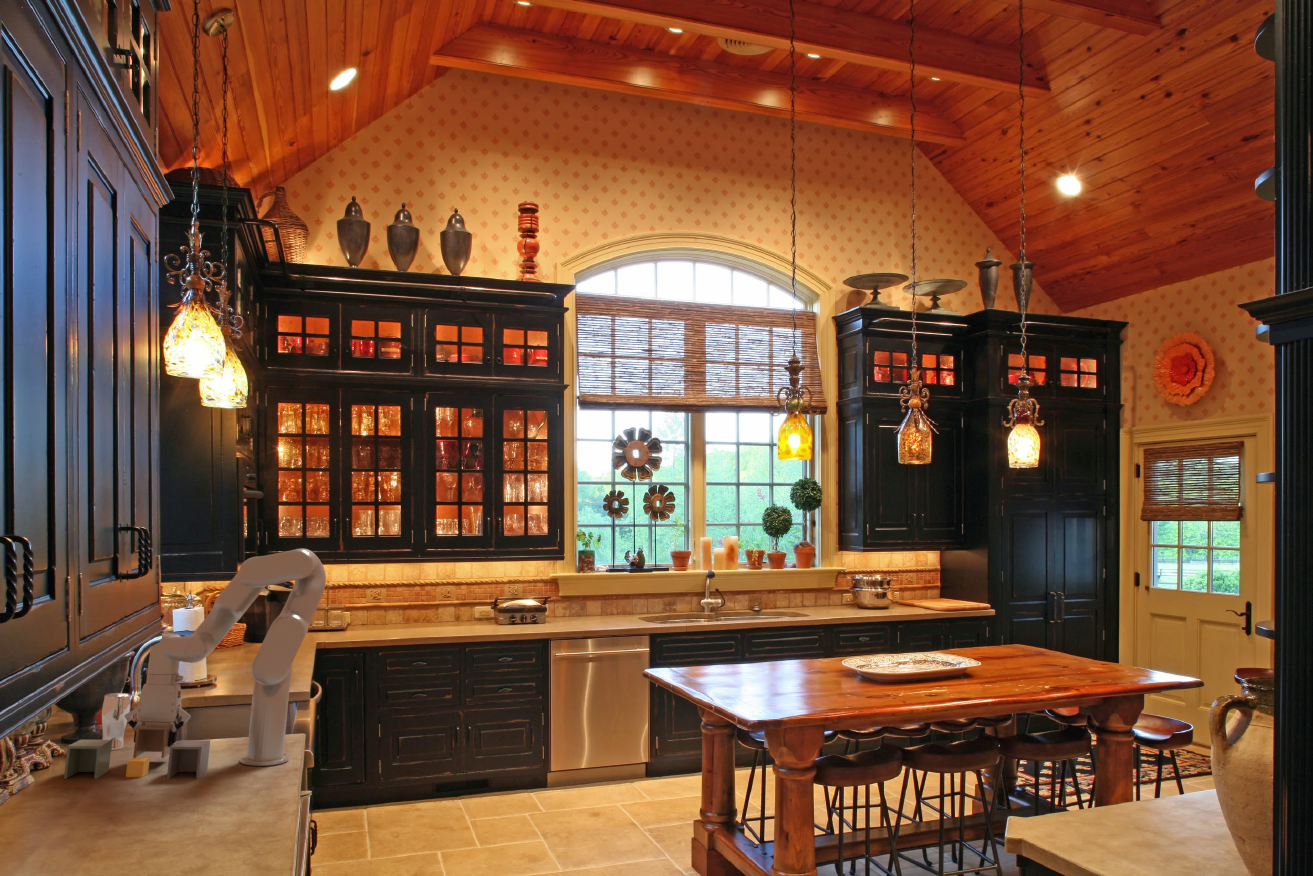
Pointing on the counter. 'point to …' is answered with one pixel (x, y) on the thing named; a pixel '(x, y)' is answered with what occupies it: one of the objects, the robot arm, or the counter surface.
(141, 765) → the orange block
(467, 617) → the counter surface
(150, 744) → the tan cardboard-coloured box
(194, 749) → the grey open box
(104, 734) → the beer glass
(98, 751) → the green open box
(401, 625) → the counter surface
